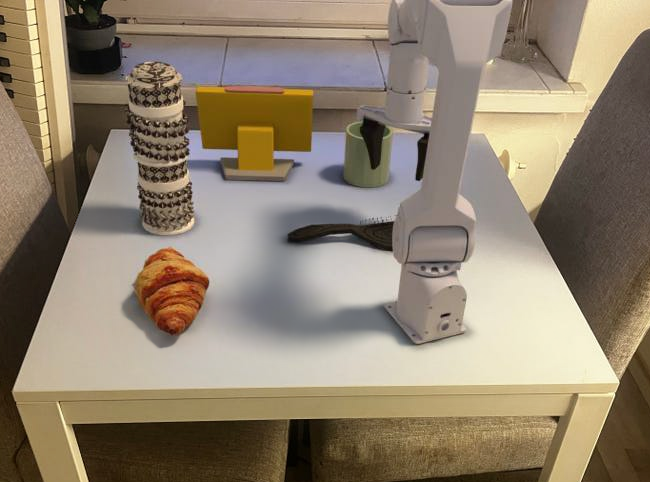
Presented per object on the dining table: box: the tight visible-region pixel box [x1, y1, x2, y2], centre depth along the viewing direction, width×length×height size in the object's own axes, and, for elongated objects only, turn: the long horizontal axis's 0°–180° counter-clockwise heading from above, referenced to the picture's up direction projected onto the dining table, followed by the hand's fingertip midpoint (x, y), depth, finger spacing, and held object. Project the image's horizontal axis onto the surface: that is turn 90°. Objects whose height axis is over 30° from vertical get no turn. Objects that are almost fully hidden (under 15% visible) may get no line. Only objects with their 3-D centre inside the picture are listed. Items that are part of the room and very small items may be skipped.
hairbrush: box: [287, 214, 397, 252], centre depth 122 cm, size 8×4×25 cm
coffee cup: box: [343, 121, 394, 188], centre depth 138 cm, size 8×8×9 cm
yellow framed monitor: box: [195, 85, 314, 182], centre depth 136 cm, size 20×8×16 cm, turn 91°
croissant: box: [134, 246, 210, 336], centre depth 106 cm, size 21×10×8 cm, turn 12°
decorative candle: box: [124, 61, 195, 236], centre depth 117 cm, size 9×9×25 cm
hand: (397, 172), depth 121 cm, fingers open, 7 cm apart
